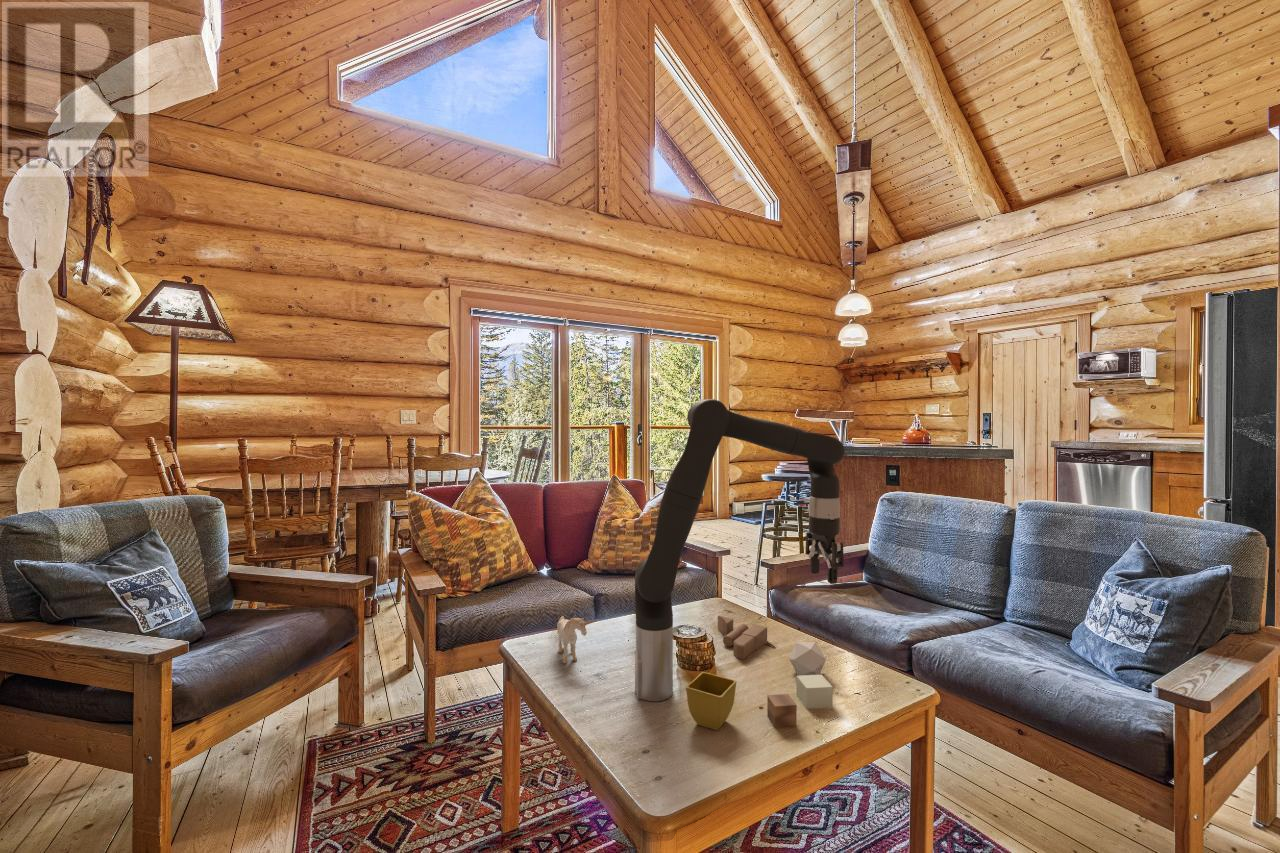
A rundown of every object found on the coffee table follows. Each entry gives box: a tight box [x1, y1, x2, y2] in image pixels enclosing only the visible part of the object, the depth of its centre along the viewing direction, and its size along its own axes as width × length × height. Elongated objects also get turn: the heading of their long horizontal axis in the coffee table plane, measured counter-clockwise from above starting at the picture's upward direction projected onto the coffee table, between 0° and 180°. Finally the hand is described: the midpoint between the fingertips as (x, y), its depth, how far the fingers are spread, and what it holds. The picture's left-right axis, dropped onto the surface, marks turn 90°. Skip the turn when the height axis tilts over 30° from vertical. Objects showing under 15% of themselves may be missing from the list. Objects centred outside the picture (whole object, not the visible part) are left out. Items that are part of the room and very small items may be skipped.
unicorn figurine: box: [556, 615, 599, 664], centre depth 161 cm, size 7×20×13 cm, turn 36°
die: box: [788, 641, 827, 676], centre depth 151 cm, size 8×9×10 cm
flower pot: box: [685, 671, 737, 731], centre depth 127 cm, size 9×9×9 cm
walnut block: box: [766, 693, 798, 729], centre depth 128 cm, size 5×5×5 cm
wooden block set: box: [717, 615, 768, 661], centre depth 172 cm, size 17×6×18 cm
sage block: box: [795, 674, 834, 709], centre depth 137 cm, size 6×6×5 cm
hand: (823, 577), depth 144 cm, fingers open, 8 cm apart
